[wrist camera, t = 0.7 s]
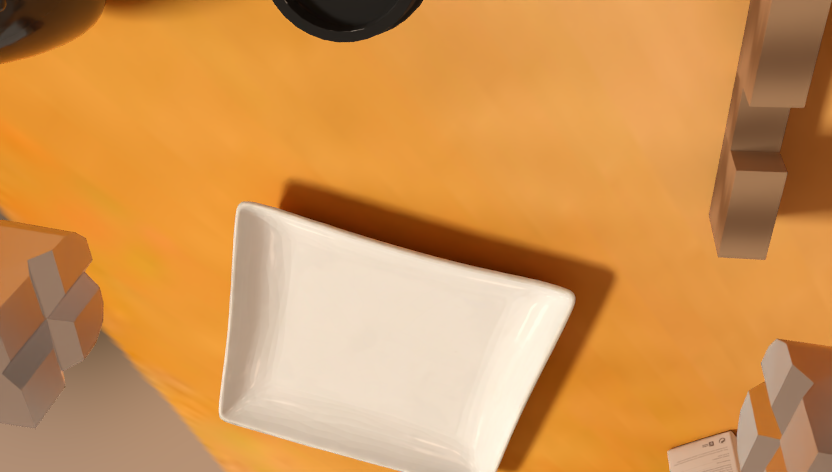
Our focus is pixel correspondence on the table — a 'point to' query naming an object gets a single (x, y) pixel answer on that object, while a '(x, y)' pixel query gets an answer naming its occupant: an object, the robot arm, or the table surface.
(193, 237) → the table surface
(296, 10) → the coffee cup
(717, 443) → the skincare box
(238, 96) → the table surface
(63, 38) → the pump dispenser
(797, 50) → the walnut rail
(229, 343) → the square plate
